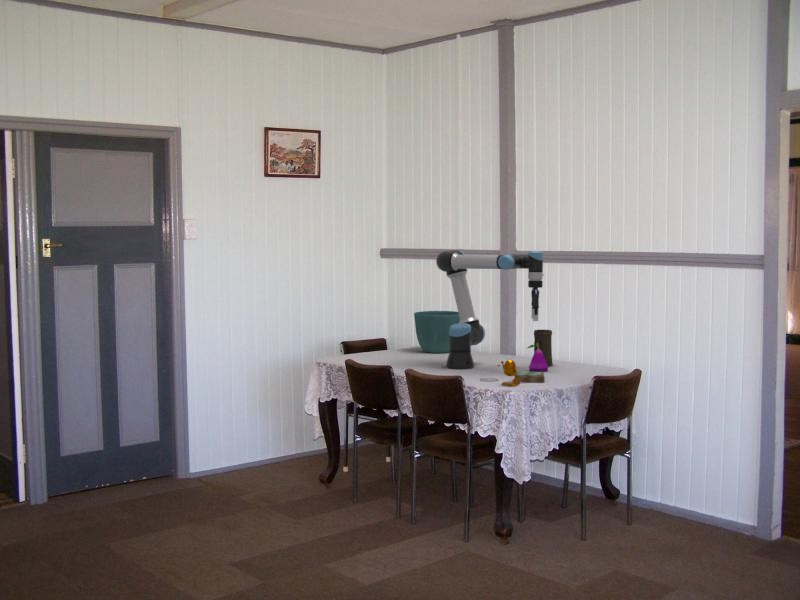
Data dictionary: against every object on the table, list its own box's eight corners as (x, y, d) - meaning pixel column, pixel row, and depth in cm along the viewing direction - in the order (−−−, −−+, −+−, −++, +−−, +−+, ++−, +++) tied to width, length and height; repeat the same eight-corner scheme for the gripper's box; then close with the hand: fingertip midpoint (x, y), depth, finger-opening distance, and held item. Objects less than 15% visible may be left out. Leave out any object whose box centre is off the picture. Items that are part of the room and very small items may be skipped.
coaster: (479, 382, 442) (479, 380, 442) (480, 379, 450) (480, 377, 450) (497, 382, 440) (497, 380, 440) (498, 379, 449) (498, 378, 449)
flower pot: (464, 354, 544) (464, 314, 542) (415, 354, 544) (414, 315, 542) (460, 348, 574) (460, 310, 572) (413, 348, 573) (413, 311, 572)
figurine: (496, 384, 432) (496, 359, 431) (511, 382, 439) (511, 357, 438) (509, 386, 425) (509, 361, 424) (525, 384, 432) (525, 359, 431)
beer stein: (552, 367, 488) (552, 330, 488) (532, 366, 490) (532, 330, 490) (553, 365, 503) (553, 329, 503) (533, 364, 505) (534, 329, 505)
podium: (515, 382, 439) (515, 375, 438) (515, 377, 453) (515, 371, 452) (544, 382, 437) (544, 375, 437) (543, 378, 451) (543, 371, 450)
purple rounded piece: (545, 369, 482) (545, 341, 481) (552, 372, 471) (552, 343, 470) (524, 369, 480) (525, 341, 479) (531, 372, 469) (531, 344, 468)
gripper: (544, 281, 466) (543, 322, 467) (540, 278, 490) (540, 317, 492) (529, 281, 466) (529, 322, 468) (527, 278, 491) (526, 317, 493)
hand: (534, 319), depth 480 cm, fingers open, 13 cm apart
